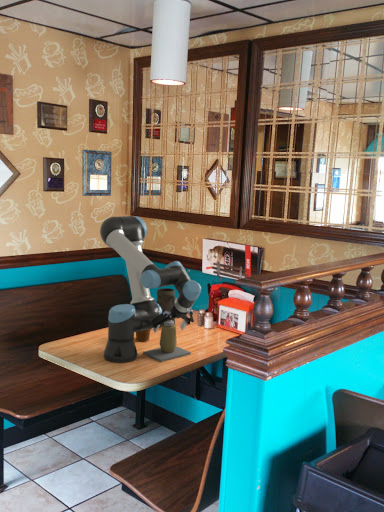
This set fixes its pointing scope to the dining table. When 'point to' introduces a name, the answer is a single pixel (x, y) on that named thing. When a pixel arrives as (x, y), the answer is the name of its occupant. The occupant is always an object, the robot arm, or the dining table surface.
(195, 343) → the dining table surface
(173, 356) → the rubber mat
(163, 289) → the dark brown bag
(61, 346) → the dining table surface
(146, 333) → the disposable coffee cup
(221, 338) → the dining table surface
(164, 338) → the squeeze bottle
